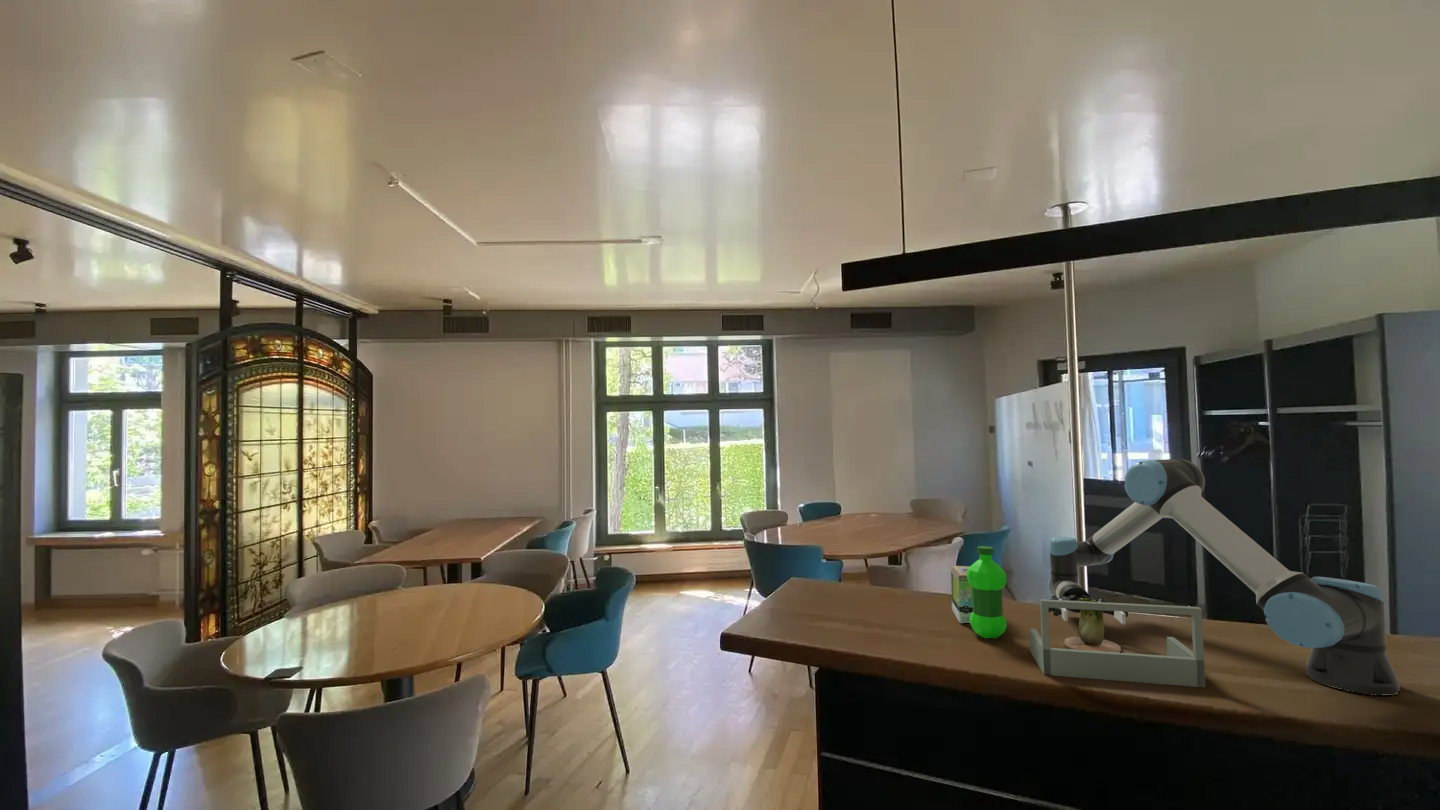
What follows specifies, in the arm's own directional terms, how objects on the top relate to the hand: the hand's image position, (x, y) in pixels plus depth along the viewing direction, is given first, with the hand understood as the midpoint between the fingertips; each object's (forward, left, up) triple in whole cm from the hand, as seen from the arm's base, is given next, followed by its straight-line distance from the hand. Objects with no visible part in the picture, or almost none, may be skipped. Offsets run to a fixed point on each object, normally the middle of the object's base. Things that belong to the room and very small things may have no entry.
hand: (1094, 617), depth 167 cm
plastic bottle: (+26, +6, -9) cm, 28 cm away
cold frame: (-6, +10, -9) cm, 15 cm away
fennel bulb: (+2, -3, -8) cm, 9 cm away
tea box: (+37, -8, -9) cm, 39 cm away
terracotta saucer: (+2, -3, -9) cm, 9 cm away
